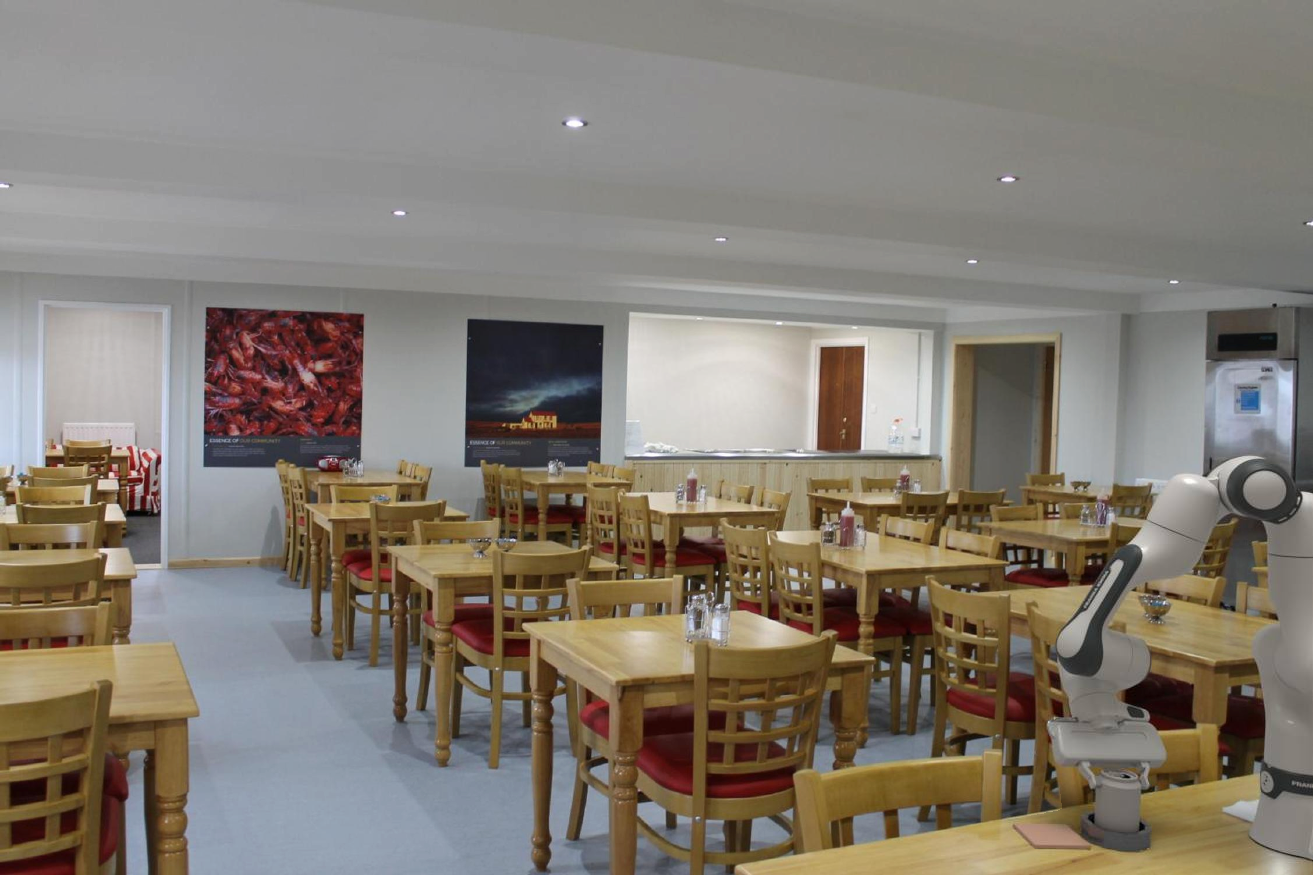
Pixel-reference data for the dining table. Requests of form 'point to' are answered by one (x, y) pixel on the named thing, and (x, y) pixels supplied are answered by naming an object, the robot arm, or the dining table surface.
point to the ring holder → (1115, 835)
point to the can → (1118, 800)
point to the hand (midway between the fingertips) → (1120, 787)
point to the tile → (1051, 836)
